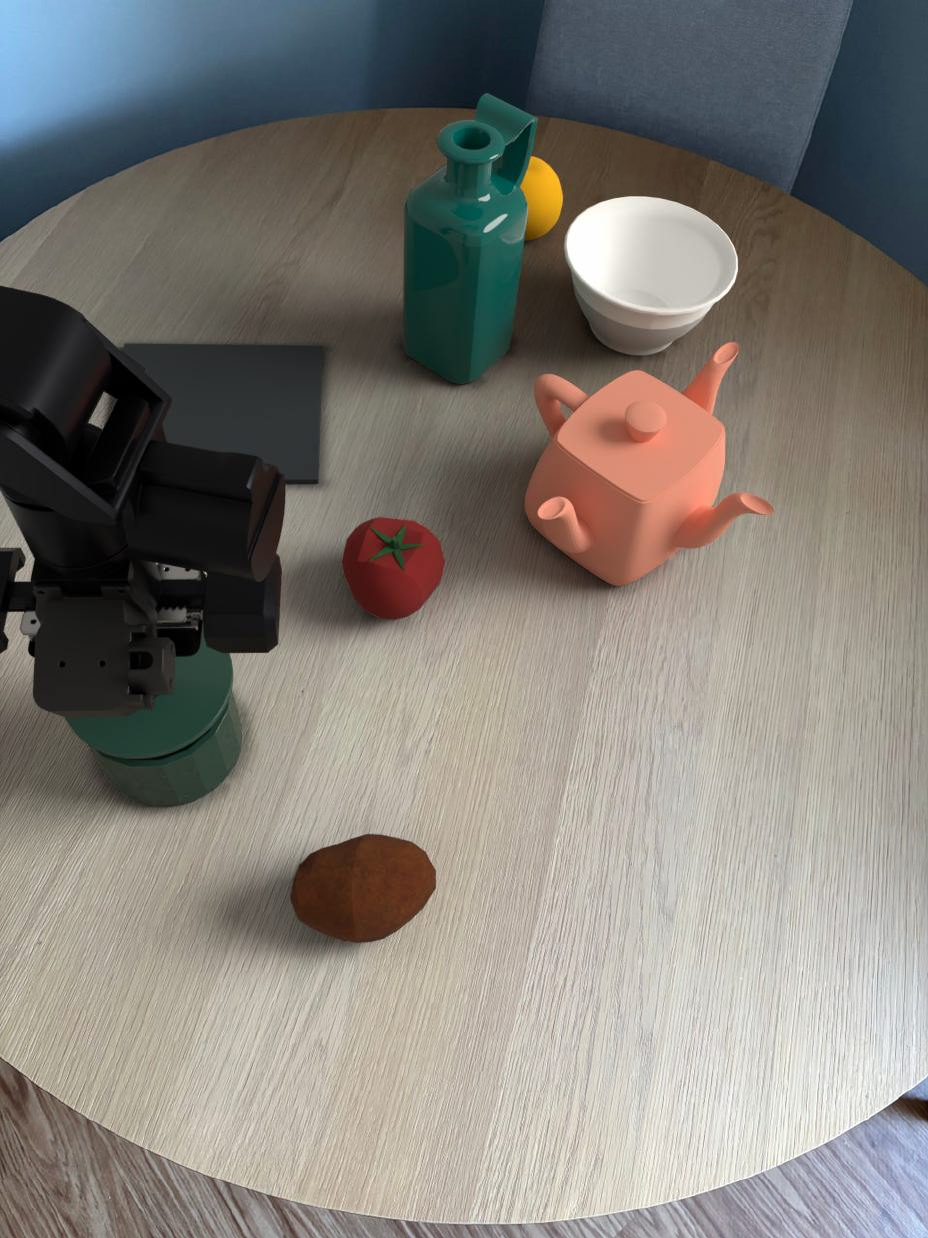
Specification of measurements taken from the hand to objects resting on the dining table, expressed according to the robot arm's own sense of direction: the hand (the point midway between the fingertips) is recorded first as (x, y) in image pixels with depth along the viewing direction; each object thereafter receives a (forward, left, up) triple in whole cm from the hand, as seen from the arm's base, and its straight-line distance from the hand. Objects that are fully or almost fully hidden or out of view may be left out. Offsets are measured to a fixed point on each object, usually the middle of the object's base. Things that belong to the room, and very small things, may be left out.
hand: (143, 670), depth 67 cm
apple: (+30, +58, -11) cm, 66 cm away
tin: (0, 0, -11) cm, 11 cm away
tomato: (+16, +13, -11) cm, 23 cm away
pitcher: (+23, +41, -11) cm, 48 cm away
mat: (+1, +32, -11) cm, 34 cm away
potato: (+14, -12, -11) cm, 22 cm away
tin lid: (0, 0, -2) cm, 2 cm away
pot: (+36, +20, -11) cm, 43 cm away
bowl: (+40, +44, -11) cm, 60 cm away
